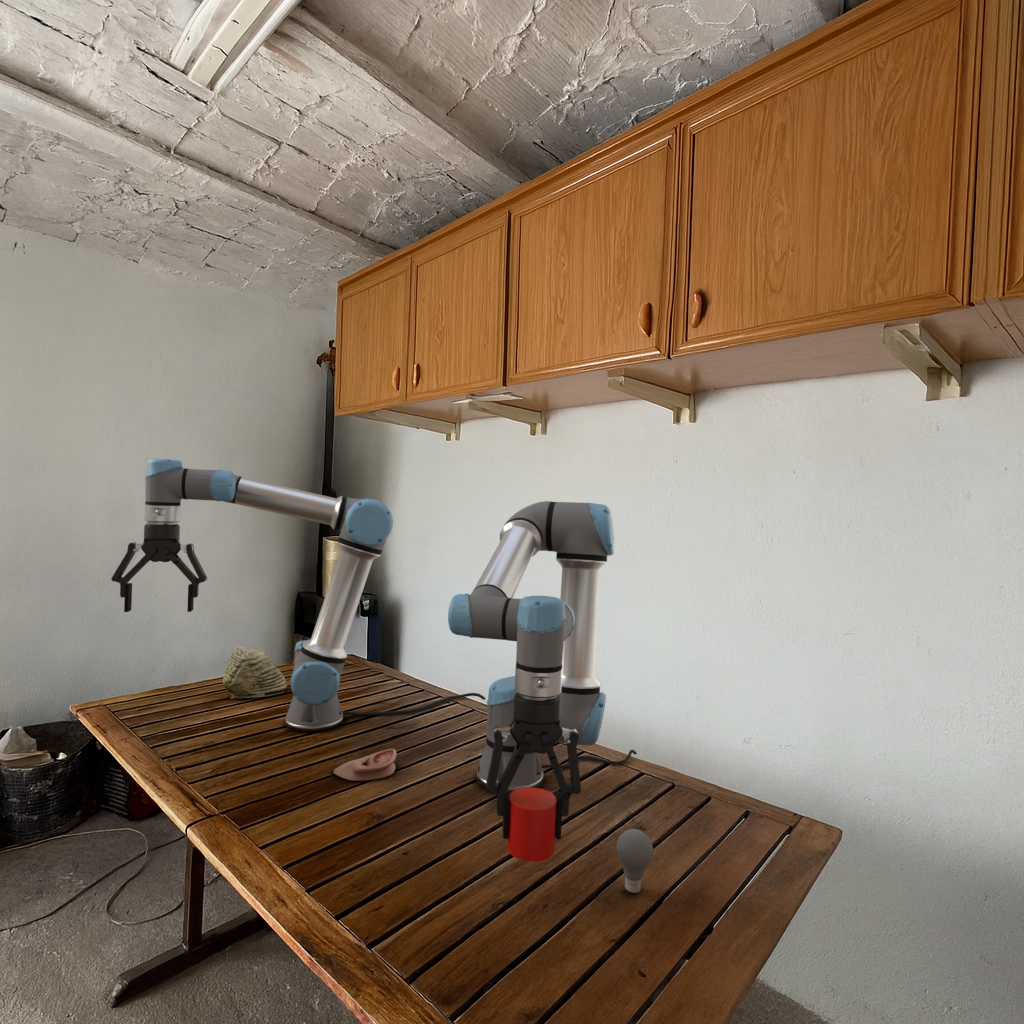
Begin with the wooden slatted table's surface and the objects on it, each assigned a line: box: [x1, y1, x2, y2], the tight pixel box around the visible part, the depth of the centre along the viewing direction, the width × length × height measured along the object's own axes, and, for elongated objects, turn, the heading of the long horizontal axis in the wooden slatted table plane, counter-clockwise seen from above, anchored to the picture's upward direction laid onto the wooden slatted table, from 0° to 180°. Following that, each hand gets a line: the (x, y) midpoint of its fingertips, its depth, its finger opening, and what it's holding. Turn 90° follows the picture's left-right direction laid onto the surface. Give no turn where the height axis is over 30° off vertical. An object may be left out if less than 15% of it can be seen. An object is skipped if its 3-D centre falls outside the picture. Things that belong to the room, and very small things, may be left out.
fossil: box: [222, 646, 288, 699], centre depth 198 cm, size 9×18×15 cm, turn 132°
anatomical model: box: [333, 748, 397, 782], centre depth 147 cm, size 13×4×12 cm
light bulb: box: [615, 828, 654, 894], centre depth 106 cm, size 6×6×10 cm
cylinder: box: [506, 787, 557, 863], centre depth 102 cm, size 8×8×8 cm
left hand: (159, 611), depth 153 cm, fingers open, 13 cm apart
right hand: (531, 834), depth 102 cm, fingers closed on cylinder, 8 cm apart
